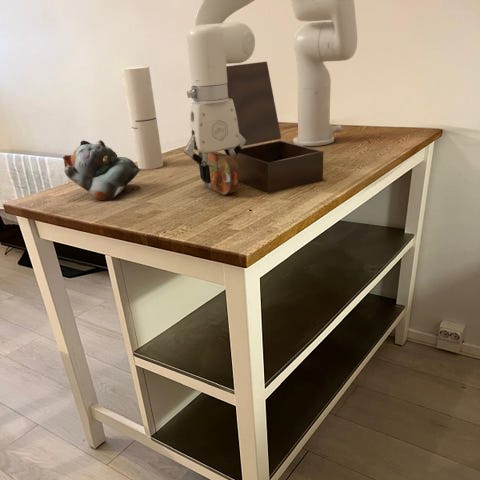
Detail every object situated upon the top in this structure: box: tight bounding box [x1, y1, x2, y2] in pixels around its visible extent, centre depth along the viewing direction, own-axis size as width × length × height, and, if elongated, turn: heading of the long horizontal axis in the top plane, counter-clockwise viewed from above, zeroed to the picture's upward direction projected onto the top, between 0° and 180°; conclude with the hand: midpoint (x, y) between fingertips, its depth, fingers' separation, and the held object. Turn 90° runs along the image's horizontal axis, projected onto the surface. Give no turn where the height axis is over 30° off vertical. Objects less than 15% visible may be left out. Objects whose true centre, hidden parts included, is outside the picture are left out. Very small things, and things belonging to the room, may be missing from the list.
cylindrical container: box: [120, 65, 164, 170], centre depth 132 cm, size 7×7×25 cm
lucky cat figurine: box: [62, 139, 141, 202], centre depth 115 cm, size 15×12×14 cm
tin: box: [203, 151, 240, 196], centre depth 111 cm, size 15×3×8 cm, turn 29°
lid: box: [226, 61, 282, 147], centre depth 119 cm, size 18×15×1 cm
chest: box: [235, 139, 325, 194], centre depth 117 cm, size 18×15×7 cm
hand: (218, 178), depth 112 cm, fingers open, 5 cm apart
